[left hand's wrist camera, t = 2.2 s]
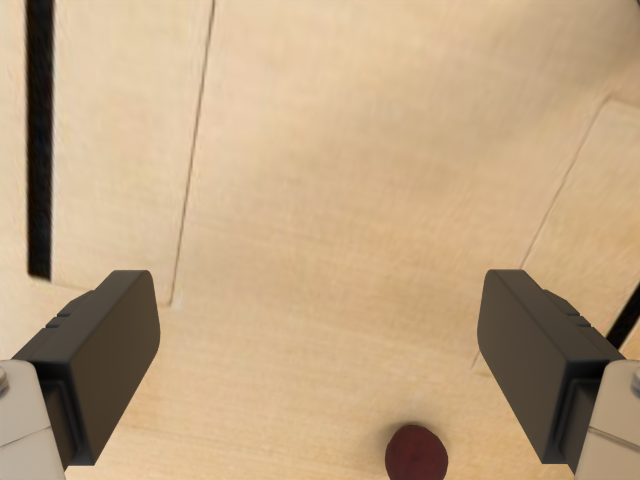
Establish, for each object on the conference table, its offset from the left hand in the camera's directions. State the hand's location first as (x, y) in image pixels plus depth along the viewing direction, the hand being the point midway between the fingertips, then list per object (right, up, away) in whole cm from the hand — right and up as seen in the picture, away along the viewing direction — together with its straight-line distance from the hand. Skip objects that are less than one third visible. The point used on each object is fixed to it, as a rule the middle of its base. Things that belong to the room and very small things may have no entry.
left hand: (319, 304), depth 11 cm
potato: (+11, -23, +46) cm, 53 cm away
